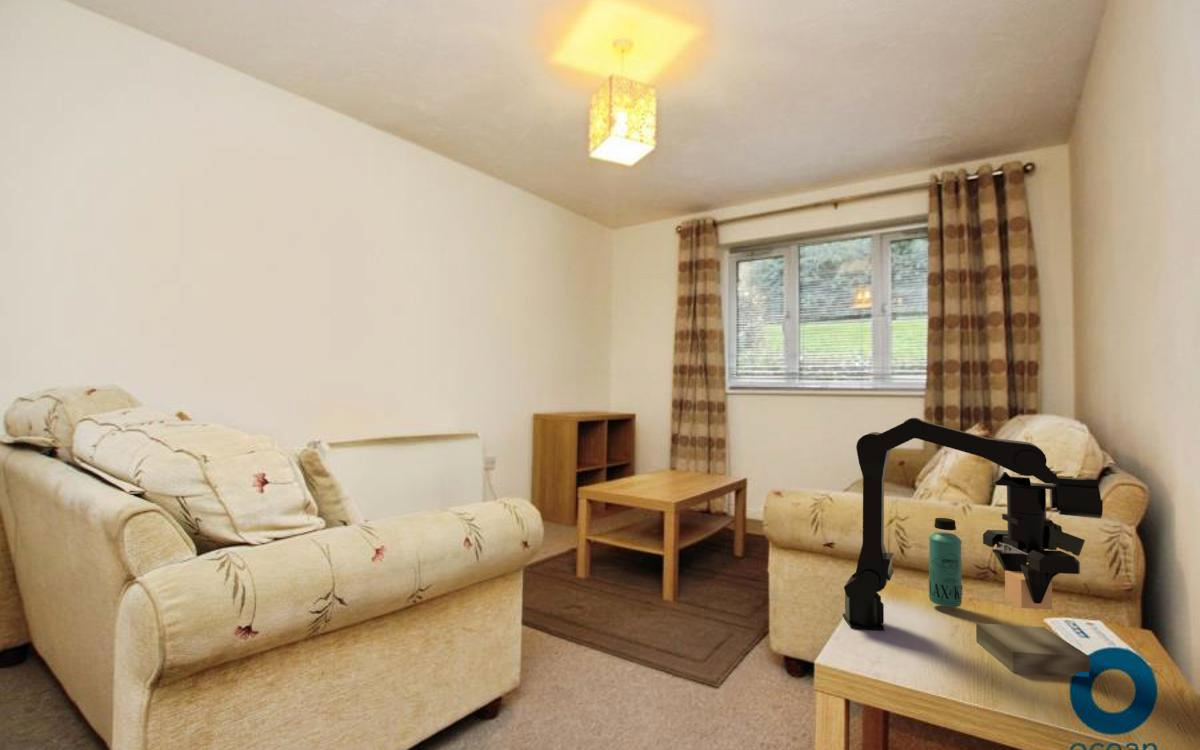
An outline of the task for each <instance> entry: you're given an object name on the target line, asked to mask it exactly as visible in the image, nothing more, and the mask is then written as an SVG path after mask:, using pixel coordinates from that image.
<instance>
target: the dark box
mask: <svg viewBox="0 0 1200 750" xmlns="http://www.w3.org/2000/svg"><path fill="white" fill-rule="evenodd" d="M975 626H976V627H975V630H976V631H975V633H976V634H975V635H976V640H975V642H976V643H977V644H978V645H979V646H980V647H982V649H984V650H985V651H986V652H988V653H989V654H990V655H991V656H992V657H993V658H994V659H996V660H997V661H999V663H1001V664H1002V665H1003V666H1004V667H1006V668H1007V669H1008V670H1009V671H1010V672H1011V673H1013V674H1021V675H1022V674H1023V675H1035V676H1037V675H1039V676H1053V677H1054V676H1055V677H1068V676H1069V678H1073V677H1072V676H1074V675H1075V674H1076V673H1077V672H1090V673H1091V656H1090V655H1089V654H1087V653H1085V652H1083V651H1082V650H1080V649H1079V648H1077V647H1075V646H1074V645H1073V644H1072V643H1070V642H1068V641H1067V640H1065V639H1063V638H1062V637H1060V636H1059V635H1057V634H1056V633H1053V632H1052V631H1051V630H1049V629H1048V628H1047V627H1046V626H1045V627H1044V626H1032V625H1014V624H993V623H979V622H977V623H975Z"/></svg>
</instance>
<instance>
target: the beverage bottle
mask: <svg viewBox="0 0 1200 750" xmlns="http://www.w3.org/2000/svg"><path fill="white" fill-rule="evenodd" d="M934 528H935V529H938V530H944V531H946V532H943V531H936V532H933V533H932V534H930V535H929V537H928V539H929V543H928V544H929V547H928V551H929V552H928V554H929V555H928V556H929V557H928V559H929V561H928V585H927V586H928V598H929V602H932V604H935V605H939V606H941V607H948V608H949V607H950V608H957V607H960V606H961V605H962V603H963V602H962V601H963V583H962V581H963V577H962V576H963V571H962V566H963V563H962V562H963V561H962V543H963V542H962V539H960V537H958V536H957V535H956V534H954V533H951V532H947V531H956V530H957V526H956V520H955V519H953V518H947V517H936V518H935V519H934Z"/></svg>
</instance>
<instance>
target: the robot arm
mask: <svg viewBox="0 0 1200 750" xmlns="http://www.w3.org/2000/svg"><path fill="white" fill-rule="evenodd" d="M913 439H918V440H920V441H925V442H928V443H932V444H936V445H939V446H942V447H945V448H949V449H954V450H955V451H959V452H963V453H966V454H970V455H974V456H977V457H981V458H983V459H985V460H988V461H989V462H992V463H994V464H996V465H998V466H1000V467H1002V468H1004V469H1006V470H1008V471H1011V472H1013V473H1016V474H1018V475H1020V476H1011V475H1010V474H1009V473H1008V472H1007V471H1003V472H1002V474H1000V476H998V477H997V478H995V479H994V483H995V485H996V486H1001V487H1002V486H1003V487H1006V513H1002V514H1001V520H1003V521H1007V522H1006V523H1007V530H1006V529H1003V530H1002V529H987V530H986V531H985V532H984V533H983V534H982V544H983V545H985V546H987V547H990V548H994V547H995V546H996V549H992V553H994V555H995V557H996V558H997V560H998V561H999V563H1000V565H1001V567H1002V569H1003V570H1004V572H1005V571H1023V574H1024V577H1025V580H1026V583H1027V586H1028V589H1029V592H1030V595H1031V597H1032V600H1033V602H1034V603H1038V604H1040V603H1042V600H1043V598H1044V596H1045V593H1046V591H1047V588H1048V586H1049V584H1050V582H1051V581H1052V580H1053V578H1055V577H1056V576H1057V575H1059V574H1066V575H1068V574H1069V575H1079V574H1081V561H1080V560H1078V559H1077V558H1076V557H1079V556H1080V555H1081V553H1082V550H1083V547H1084V545H1085V542H1086V539H1085V538H1084V539H1083V538H1080V537H1078V536H1075V535H1072V534H1069V533H1067V532H1064V531H1063V529H1062V526H1061V525H1060V524H1056V523H1054V522H1053V520H1052V519H1049V518H1047V492H1046V490H1049V505H1050V509H1056V511H1057V512H1058V515H1061V516H1068V517H1070V516H1071V517H1080V518H1081V517H1082V518H1090V519H1102V516H1103V510H1104V509H1103V502H1104V501H1103V499H1102V497H1101V491H1100V487H1099V484H1100V483H1099V480H1098V479H1096V477H1082V478H1079V477H1067V476H1066V477H1064V476H1058V473H1056V472H1055V470H1051V469H1050V468H1049V467H1048V466H1047V460H1048V459H1047V456H1046V454H1045V452H1044V451H1043V450H1042V449H1041V448H1040V447H1038V446H1037V445H1036V444H1034V443H1031V442H1028V441H1020V440H1013V439H1012V440H1011V439H1005V438H1004V439H1001V438H992V437H991V438H990V437H985V436H981V435H978V434H975V433H971V432H966V431H963V430H960V429H955V428H952V427H947V426H944V425H940V424H936V423H932V422H929V421H926V420H923V419H921V418H918V417H910V418H908V419H906V420H904V422H902V423H900V424H898V425H896V426H894V427H892V428H890V429H888V430H886V431H883V432H877V431H874V432H869V433H867V434H865V435H862V436H861V437H860V438H859V439H858V440H857V442H856V445H855V448H856V449H855V450H856V453H857V459H858V460H857V461H858V465H859V468H860V471H861V474H862V545H861V548H860V552H859V555H858V560H857V565H856V569H855V572H854V573H853V574H851V576H850V577H849V578H848V580H847V581H846V583H845V584H844V586H843V589H844V613H842V617H843V619H844V620H845V621H846V623H847V624H848V625H849V627H850V628H851V629H863V630H879V631H883V630H885V626H884V625H883V624H884V623H885V618H884V612H885V611H884V610H885V609H884V607H885V604H884V603H883V602H882V597H881V595H880V594H879V593H878V592H881V591H882V590H884V589H885V587H886V586H887V583H888V581H891V579H892V576H893V574H894V573H895V571H894V568H893V559H894V552H887V550H886V547H885V543H884V541H885V539H884V538H885V535H884V532H885V531H884V530H885V529H884V528H885V526H884V525H885V523H884V522H885V521H884V519H885V516H884V515H885V475H886V471H887V466H888V463H889V460H890V454H891V450H892V449H895V448H896V447H899V446H901V445H903V444H905V443H908V442H909V441H911V440H913ZM1030 477H1034V478H1035V479H1036V480H1037V479H1038V480H1039V481H1041V482H1043V483H1040V482H1038V483H1037V482H1032V481H1031V478H1030ZM1058 549H1059V550H1058ZM1062 550H1063V551H1062ZM1064 551H1066V552H1064ZM1067 552H1069V553H1071V554H1072V555H1071V554H1069V553H1067ZM1075 556H1076V557H1075Z"/></svg>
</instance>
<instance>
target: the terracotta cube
mask: <svg viewBox="0 0 1200 750" xmlns="http://www.w3.org/2000/svg"><path fill="white" fill-rule="evenodd" d="M1004 586H1005V587H1004V589H1005V590H1004V592H1005V595H1004V597H1005V599H1007V600H1009V601H1010V602H1011V603H1013V604H1015V605H1016V606H1018V607H1019V608H1021V609H1036V610H1037V609H1038V610H1053V582H1052V580H1051V582H1050V584H1049V586H1048V588H1047V591H1046V593H1045V596H1044V598H1043V600H1042V603H1040V604H1038V603H1034V602H1033V600H1032V597H1031V595H1030V592H1029V589H1028V586H1027V583H1026V580H1025V577H1024V574H1023V571H1004Z"/></svg>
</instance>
